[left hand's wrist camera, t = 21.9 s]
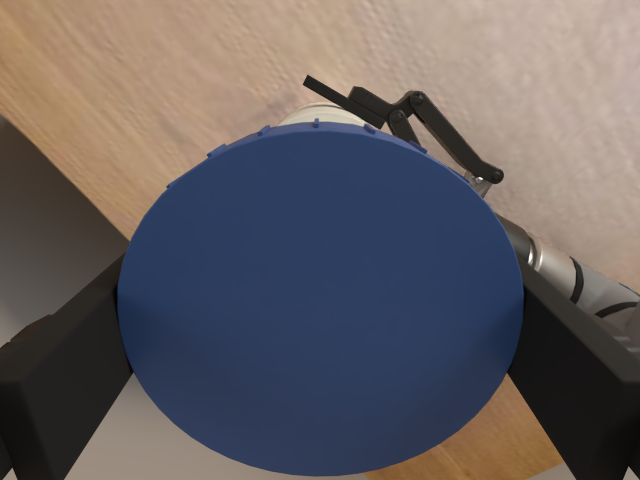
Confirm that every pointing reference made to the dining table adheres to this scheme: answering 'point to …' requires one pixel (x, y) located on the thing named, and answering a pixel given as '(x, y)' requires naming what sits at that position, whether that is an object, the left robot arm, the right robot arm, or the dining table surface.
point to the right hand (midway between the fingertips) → (274, 144)
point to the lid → (320, 300)
